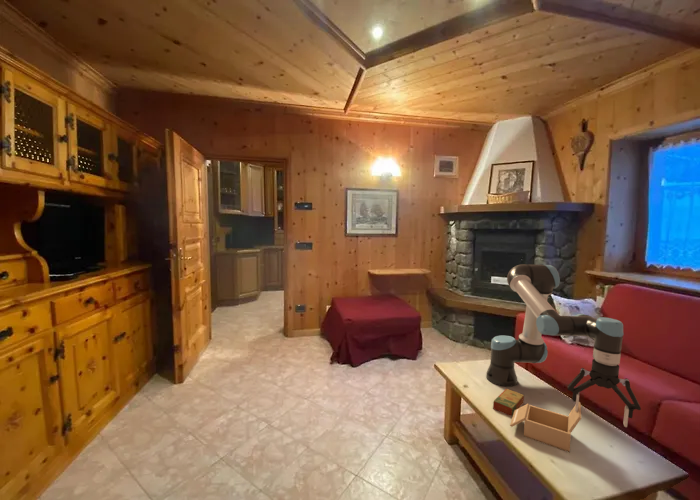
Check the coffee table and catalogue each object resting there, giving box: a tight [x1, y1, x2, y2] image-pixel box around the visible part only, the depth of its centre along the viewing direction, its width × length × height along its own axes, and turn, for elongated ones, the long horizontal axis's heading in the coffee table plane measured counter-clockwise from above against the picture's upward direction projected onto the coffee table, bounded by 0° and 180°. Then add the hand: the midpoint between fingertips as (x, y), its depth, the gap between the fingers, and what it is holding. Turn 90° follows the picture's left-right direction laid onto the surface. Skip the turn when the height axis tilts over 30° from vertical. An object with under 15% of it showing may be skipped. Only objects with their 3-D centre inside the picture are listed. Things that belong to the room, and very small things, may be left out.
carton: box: [492, 388, 525, 417], centre depth 144 cm, size 8×16×4 cm, turn 134°
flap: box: [568, 401, 582, 433], centre depth 118 cm, size 13×1×7 cm, turn 145°
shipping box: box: [509, 403, 572, 453], centre depth 125 cm, size 13×20×8 cm, turn 55°
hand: (599, 417), depth 113 cm, fingers open, 13 cm apart
